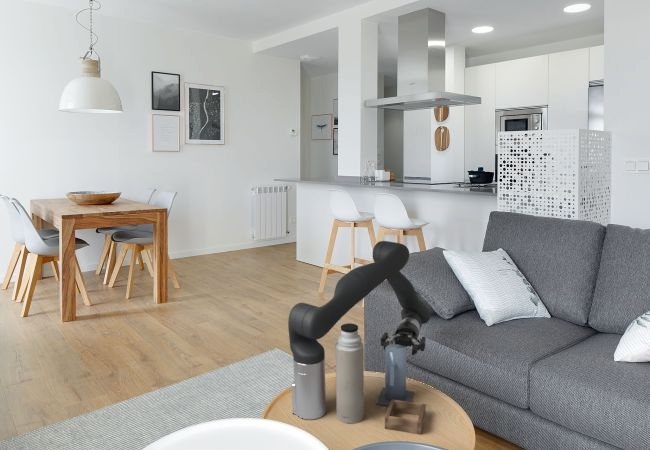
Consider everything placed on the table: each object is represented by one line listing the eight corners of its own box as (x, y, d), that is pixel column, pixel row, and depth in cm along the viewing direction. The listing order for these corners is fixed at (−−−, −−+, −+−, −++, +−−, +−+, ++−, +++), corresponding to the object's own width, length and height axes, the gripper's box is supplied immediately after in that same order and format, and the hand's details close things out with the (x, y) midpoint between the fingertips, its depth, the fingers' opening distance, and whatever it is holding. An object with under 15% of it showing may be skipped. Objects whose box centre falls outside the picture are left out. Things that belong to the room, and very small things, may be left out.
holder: (384, 428, 146) (384, 417, 145) (391, 409, 155) (391, 399, 154) (420, 434, 142) (420, 422, 142) (425, 415, 152) (425, 404, 151)
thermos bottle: (331, 417, 152) (329, 327, 146) (347, 405, 158) (346, 318, 152) (353, 426, 147) (352, 333, 141) (369, 414, 153) (368, 324, 147)
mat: (376, 404, 158) (376, 403, 158) (382, 388, 167) (382, 387, 167) (409, 409, 155) (409, 407, 155) (414, 393, 164) (414, 391, 164)
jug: (381, 405, 156) (381, 356, 153) (387, 390, 165) (387, 343, 162) (402, 408, 154) (402, 358, 151) (407, 393, 163) (407, 345, 160)
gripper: (387, 319, 180) (377, 336, 165) (429, 323, 176) (422, 342, 161) (387, 339, 182) (377, 358, 166) (428, 344, 177) (421, 364, 162)
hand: (399, 350), depth 163 cm, fingers open, 8 cm apart
